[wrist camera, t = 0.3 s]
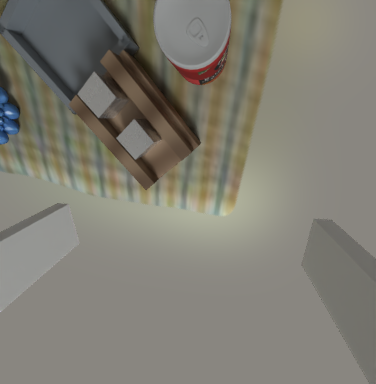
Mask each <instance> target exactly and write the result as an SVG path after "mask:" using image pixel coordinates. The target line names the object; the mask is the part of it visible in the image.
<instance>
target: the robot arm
mask: <svg viewBox="0 0 376 384" xmlns="http://www.w3.org/2000/svg"><path fill="white" fill-rule="evenodd" d="M78 244H79V239H78V236H77V232H76V228H75V225H74V221H73V218H72V215H71V211H70V207H69V204H60V203H57V204H55V205H53V206H51V207H49V208H47V209H45V210H43V211H41V212H39V213H37V214H35V215H34V216H31V217H30V218H28V219H26V220H23V221H21V222H19V223H18V224H16V225H14V226H12V227H10V228H8V229H6V230H4V231H2V232H0V312H1V311H2V310H3V309H5V308H6V307H7V306H8V305H9V304H10V303H11V302H13V301H14V300H15V299H16V298H17V297H18V296H19V295H21V294H22V293H23V292H24V291H25V290H26V289H27V288H29V287H30V286H31V285H32V284H33V283H34V282H35V281H36V280H38V279H39V278H40V277H41V276H42V275H44V274H45V273H46V272H47V271H48V270H49V269H50V268H52V266H54V265H55V264H56V263H57V262H58V261H59V260H61V259H62V258H63V257H64V256H65V255H67V254H68V253H69V252H70V251H71V250H72V249H73V248H75V247H76V246H77V245H78ZM302 266H303V268H304V270H305V272H306V273H307V275H308V277H309V279H310V280H311V282H312V284H313V286H314V287H315V289H316V291H317V293H318V294H319V296H320V298H321V300H322V301H323V303H324V305H325V307H326V308H327V310H328V312H329V314H330V315H331V317H332V319H333V321H334V322H335V324H336V325H337V328H338V329H339V331H340V333H341V335H342V336H343V338H344V340H345V342H346V343H347V345H348V347H349V349H350V350H351V352H352V354H353V356H354V357H355V359H356V360H357V363H358V364H359V366H360V368H361V370H362V371H363V373H364V375H365V377H366V379H367V380H368V382H369V384H376V259H375V258H374V257H373V256H372V255H371V254H370V253H369V252H367V251H366V250H365V249H364V248H363V247H362V246H361V245H359V244H358V243H357V242H356V241H355V240H354V239H353V238H352V237H350V236H349V235H348V234H347V233H346V232H345V231H344V230H342V229H341V228H340V227H339V226H338V225H337V224H336V223H335V222H333V221H332V220H325V219H314V220H313V223H312V227H311V231H310V235H309V238H308V242H307V246H306V250H305V253H304V257H303V261H302Z"/></svg>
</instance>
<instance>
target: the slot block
mask: <svg viewBox="0 0 376 384" xmlns="http://www.w3.org/2000/svg"><path fill="white" fill-rule="evenodd" d="M100 62H101V63H102V65H103V66H104V67H105V68H106V69H107V72H106V73H105V74H104V75H105V76H108V77H110V78H112V80H113V81H114V82H115V83H116V84H117V86H118V87H119V88H120V89H121V91H122V92H123V93H124V94H125V95H126V97H127V98H128V99H129V100H130V101H129V102H128V103H127V104H126V105H125V106H124V107H123V108H122V110H121V111H120V112H119V113H118V114H117V115H116V116H115V117H114V118H98V117H97V116H96V115H95V114H94V112H93V111H92V110H91V109H90V108H89V107H88V106H87V105H86V103H85V102H84V101H83V100H82V99H81V98H80V97H79V95H75V96H74V98H73V99H72V101H71V102H70V103H69V106H70V107H71V108H72V109H73V110H74V111H75V112H76V113H77V115H78V116H79V117H80V118H81V119H82V120H83V121H84V122H85V123H86V125H87V126H88V127H89V128H90V129H91V130H92V131H93V132H94V133H95V134H96V136H97V137H98V138H99V139H100V140H101V141H102V142H103V143H104V144H105V146H106V147H107V148H108V149H109V150H110V151H111V152H112V153H113V154H114V155H115V157H116V158H117V159H118V160H119V161H120V162H121V163H122V164H123V165H124V167H125V168H126V169H127V170H128V171H129V172H130V173H131V174H132V175H133V176H134V178H135V179H136V180H137V181H138V182H139V183H140V184H141V185H142V186H143V187H144V189H145V190H147V189H148V188H149V187H150V186H152V185H153V184H154V183H155V182H156V181H157V180H158V179H159V178H160V177H162V176H163V175H164V174H165V173H166V172H168V171H169V170H170V169H171V168H172V167H174V166H175V165H176V164H177V163H178V162H180V161H182V160H183V159H184V158H185V157H187V156H188V155H189V154H190V153H192V151H193V150H194V149H195V148H197V147H198V146H199V145H200V143H201V142H200V141H199V140H198V139H197V137H196V136H195V135H194V133H193V132H192V131H191V130H190V128H189V127H188V126H187V124H186V123H185V122H184V121H183V119H182V118H181V117H180V115H179V114H178V113H177V112H176V110H175V109H174V108H173V106H172V105H171V104H170V103H169V101H168V100H167V99H166V97H165V96H164V95H163V94H162V92H161V91H160V90H159V88H158V87H157V86H156V85H155V83H154V82H153V81H152V79H151V78H150V77H149V76H148V74H147V73H146V72H145V70H144V69H143V68H142V67H141V65H140V64H139V63H138V61H137V60H136V59H135V58H134V57H132V56H131V55H130V54H128V53H127V52H126V51H124V50H123V51H122V52H121V53H120V55H117V54H116V53H114V52H113V51H111V50H108V51H107V53H106V54H105V56H104V57H103V58H102V60H101V61H100ZM134 119H145V120H146V121H147V122H148V123H149V124H150V126H151V127H152V128H153V129H154V131H155V132H156V133H157V134H158V135H159V137H160V138H161V139H162V140H161V141H160V142H159V143H158V144H157V145H156V146H154V147H153V148H152V149H151V150H150V151H149V152H148V153H147V154H146V155H144V156H142V157H140V158H138V159H136V160H135V159H134V158H133V157H132V156H131V154H130V153H129V152H128V151H127V150H126V149H125V148H124V146H123V145H122V144H121V143H120V142H119V141H118V140H117V139H116V138H117V137H118V136H119V135H120V134H121V133H122V132H123V130H124V129H125V128H126V127H127V126H128V125H129V124H130V123H131V122H132V121H133V120H134Z"/></svg>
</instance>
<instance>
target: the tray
mask: <svg viewBox="0 0 376 384" xmlns="http://www.w3.org/2000/svg"><path fill="white" fill-rule="evenodd" d="M0 33H1V34H2V36H3V37H4V38H5V39H6V40H7V41H8V42H9V43H10V44H11V45H12V47H13V48H14V49H15V50H16V51H17V52H18V53H19V54H20V55H21V56H22V58H23V59H24V60H25V61H26V62H27V63H28V64H29V65H30V66H31V67H32V69H33V70H34V71H35V72H36V73H37V74H38V75H39V76H40V77H41V78H42V80H43V81H44V82H45V83H46V84H47V85H48V86H49V87H50V88H51V89H52V91H53V92H54V93H55V94H56V95H57V96H58V97H59V98H60V99H61V100H62V102H63V103H64V104H65V105H66V106H67V107H68V108H69V109H70V110H71V111H72V113H73V114H77V113H76V112H75V111H74V110H73V109H72V108H71V107H70V106H69V103H70V102H71V101H72V99H73V98H74V96H75V95H78V93H79V91H80V90H81V88H82V87H83V86H84V84H85V83H86V82H87V80H88V79H89V78H90V76H91V75H92V73H93V72H94V71H95V72H97V73H100V74H103V75H104V74H105V73H106V72H107V69H106V68H105V67H104V66H103V65H102V63H101V62H100V61H101V60H102V58H103V57H104V56H105V54H106V53H107V51H108V50H111V51H113V52H114V53H116V54H117V55H120V53H121V52H122V51H123V50H124V51H126V52H127V53H128V54H130V55H131V56H133V55H134V54H135V53H136V51H137V50H138V49H139V47H138V46H137V44H136V43H135V42H134V40H133V39H132V38H131V37H130V35H129V34H128V33H127V31H126V30H125V29H124V27H123V26H122V25H121V23H120V22H119V21H118V20H117V18H116V17H115V16H114V14H113V13H112V12H111V10H110V9H109V8H108V6H107V5H106V4H105V3H104V1H103V0H9V1H8V3H7V5H6V7H5V9H4V12H3V14H2V16H1V18H0Z"/></svg>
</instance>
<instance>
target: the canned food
mask: <svg viewBox="0 0 376 384" xmlns="http://www.w3.org/2000/svg"><path fill="white" fill-rule="evenodd" d="M154 30H155V34H156V38H157V41H158V43H159V45H160V47H161V49H162V51H163V52H164V54H165V55H166V57H167V58H168V60H169V61H170V62H171V63H172V64H173V65H174V67H175V68H176V69H177V70H178V71H179V72H180V74H181V75H182V76H183V77H184V78H185V79H186V80H187V81H189V82H191V83H193V84H197V85H205V84H208V83H210V82H212V81H214V80H215V79H216V78H217V77H218V76H219V75H220V74H221V72H222V70H223V69H224V66H225V63H226V59H227V52H228V45H229V38H230V31H231V9H230V2H229V0H156V3H155V8H154Z"/></svg>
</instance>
